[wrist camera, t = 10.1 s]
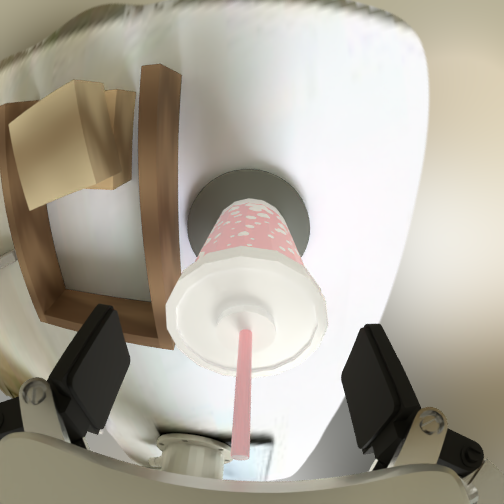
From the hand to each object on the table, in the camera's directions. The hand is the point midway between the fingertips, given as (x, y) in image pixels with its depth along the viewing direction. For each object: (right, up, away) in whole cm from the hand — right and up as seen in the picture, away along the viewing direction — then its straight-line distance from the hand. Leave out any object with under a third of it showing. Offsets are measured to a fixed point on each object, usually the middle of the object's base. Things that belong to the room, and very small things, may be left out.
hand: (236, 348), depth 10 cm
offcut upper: (-10, +10, +3) cm, 15 cm away
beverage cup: (0, +5, +8) cm, 10 cm away
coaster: (0, +5, +9) cm, 10 cm away
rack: (-11, +7, +8) cm, 15 cm away
